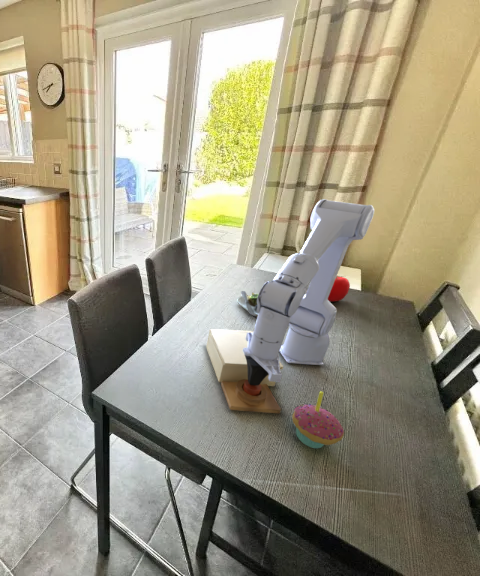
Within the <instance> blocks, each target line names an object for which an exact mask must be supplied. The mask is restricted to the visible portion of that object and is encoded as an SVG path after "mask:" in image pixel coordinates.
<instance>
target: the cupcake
mask: <svg viewBox="0 0 480 576" xmlns="http://www.w3.org/2000/svg"><path fill="white" fill-rule="evenodd" d="M323 389H324V388H323V387H321V389H320V391H319V392H318V396H317V401H316V404H315V405H314V404H311V403H305V404H304V403H303V404H300V405H297V406H296V407H294V409H293V410H294V411H293V413H292V416H291V417H292V423H293V425H294V426H295V434H296V437H297V438H298V440H299V441H301V443H302V444H304V445H305V446H307V447H309V448H311V449H312V448H313V449H321V448H322V447H324V446H331V445H335V444H337V443H338V442H341V441H342V439H344V436H345V430H344V426H343V424H341V422H340V421H339V419H338V418H337V417H336V416H335V415H334V413H332V412H330V411H329V410H328V409H325V408H323V407H321V405H322V402H323V397H324V391H323Z"/></svg>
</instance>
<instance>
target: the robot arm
mask: <svg viewBox="0 0 480 576" xmlns="http://www.w3.org/2000/svg"><path fill="white" fill-rule="evenodd" d="M313 207H314V208H313V209H312V211H311V215H310V218H309V219H310V220H309V222H310V230H311V232H310V233H309V235H308V237H307V238H306V241H304V244H303V246H302V248H301V249H300V251H299V252H298V253H293V254H291V255H290V256H289V257H288V258H287V259H286V261H285V262H284V264H283V265H282V267H281V268H280V269H279V271H278V273H276V275H275V276H274V278H273V279H272V280H271V281H269V280H268V281H266V282H264V284H263V285H262V286H261V288H260V290H259V291H258V292H259V293H258V294H259V295H258V297H257V304H258V306H257V310H256V311H257V313H258V317H257V318H256V321H255V325H254V328H253V330H252V331H253V333H248V332H247V335H246V341H248V346H247V348H243V352H244V354H245V357H246V361H247V368H248V382H249V384H250V385H259V384H260V383H261V382H262V381H263V379H264V378H265V377H266V376H267V375H268V374H269V376H268V379H269V381H273V382H276V383H280V382H281V379H282V377H283V373H282V372H281V371H282V370H281V369H280V364H279V361H280V355H279V354H281V356H282V357H283V358H284V360H285V361H286V363H288V364H296V365H297V364H298V365H316V366H324V362H323V360H324V358H325V356H326V354H327V352H328V349H329V347H330V335H329V333H330V331H331V329H332V328H333V325H334V323H335V320H336V315H337V310H338V309H337V308H336V307H335V306H334V304H333V303H331V301H328V296H329V294H330V291H331V289H332V286H333V284H334V281H335V279H336V276H338V274H339V271H340V268H341V266H342V263H343V261H344V258H345V256H346V253H347V251H348V248H349V246H350V245H351V243H352V242H353V241H359V240H363V239H364V238H365V236H366V235H367V232H368V230H369V227H370V224H371V223H372V220H373V218H374V215H375V208H374V206H373V205H372V204H360V203H352V202H344V201H336V200H330V199H326V198H323V199H320V200H319V201H318V202H317V203H316V204H315V206H313ZM306 289H307V291H306Z"/></svg>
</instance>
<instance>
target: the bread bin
mask: <svg viewBox="0 0 480 576" xmlns="http://www.w3.org/2000/svg"><path fill="white" fill-rule="evenodd" d="M205 348H206V351H207V354H208V357H209V359H210V362H211V364H212V367H213V370H214V372H215V376H216V379H217V381H218V383H221V382H222V381H226V382H238V381H240V380H242V379H248V368H247V367H238V366H224V363H223V361H222V359H221V357H220V354H219V352H218V350H217V347H216V345H215V343H214V340H213V338H212V336H211V334H210V331H208V336H207V340H206V345H205ZM268 376H269V374H268V375H267V376H266V377H265V378H264V379H263V381H262V382H261V383H260V384H267V385H268V387H275V385H276V383H277V382H273V381H269V379H268Z"/></svg>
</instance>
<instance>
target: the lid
mask: <svg viewBox="0 0 480 576" xmlns="http://www.w3.org/2000/svg"><path fill="white" fill-rule="evenodd" d="M209 331H210V334H211V336H212V338H213V340H214V343H215V345H216V347H217V350H218V352H219V354H220V357H221V359H222V361H223V363H224V366H238V367H247V361H246V357H245V354H244V352H243V348H247V346H248V341H246V335H247V332H248V333H253V331H254V330H242V329H241V330H239V329H221V328H209ZM209 331H208V332H209ZM279 364H280V370H284V365H283V364H282V362H281V360H279Z"/></svg>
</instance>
